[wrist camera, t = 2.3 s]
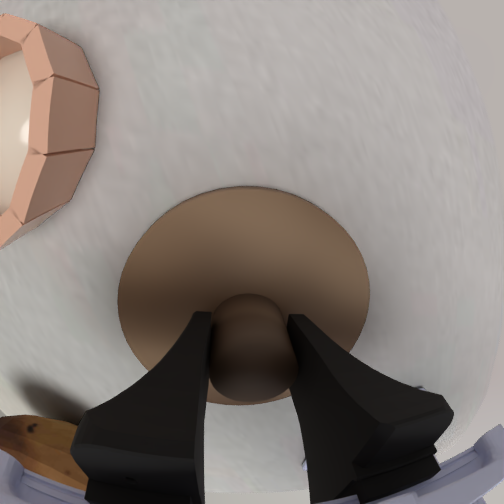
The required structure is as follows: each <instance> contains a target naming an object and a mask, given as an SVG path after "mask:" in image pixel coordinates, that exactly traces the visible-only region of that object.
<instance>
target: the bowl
mask: <svg viewBox="0 0 504 504" xmlns="http://www.w3.org/2000/svg"><path fill="white" fill-rule="evenodd" d="M98 89H99V87H98V85H97V83H96V81H95V78H94V76H93V74H92V71H91V69H90V67H89V64H88V62H87V59H86V57H85V55H84V52H83V50H82V48H81V47H80V46H78V45H76V44H75V43H73V42H71V41H69V40H68V39H66V38H64V37H62V36H60V35H58V34H56V33H55V32H53V31H51V30H49V29H47V28H45V27H43V26H41V25H39V24H37V23H34V22H32V21H29V20H25V19H22V18H19V17H16V16H13V15H9V14H6V13H5V14H2V15H0V250H1V249H3V248H4V247H6V246H7V245H9V244H10V243H12V242H14V241H15V240H17V239H18V238H20V237H21V236H23V235H25V234H26V233H28V232H30V231H31V230H33V229H35V228H36V227H38V226H39V225H40V224H41V223H43V222H44V221H45V220H46V219H48V218H49V217H50V216H51V215H53V214H54V213H55V212H56V211H58V210H59V209H60V208H61V207H63V206H64V205H65V204H67V203H68V202H69V200H71V199H72V196H73V194H74V192H75V189H76V187H77V185H78V183H79V180H80V178H81V176H82V174H83V172H84V170H85V167H86V165H87V163H88V161H89V159H90V157H91V155H92V153H93V151H94V150H93V149H92V148H94V147H95V135H96V120H97V108H98V98H99V91H98Z"/></svg>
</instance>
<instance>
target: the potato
mask: <svg viewBox="0 0 504 504" xmlns="http://www.w3.org/2000/svg"><path fill="white" fill-rule="evenodd" d="M77 427H78V426H77V425H74V424H72V423H69V422H67V421H61V420H55V419H49V418H44V417H39V416H33V415H17V416H5V417H1V418H0V449H1V450H3V451H5V452H6V453H8V454H10V455H11V456H13V457H14V458H15V459H17V460H18V461H19V462H20V463H21V465H22V466H23V467H24V468H25V469H27V470H29V471H32V472H34V473H36V474H39V475H41V476H43V477H46V478H48V479H51V480H53V481H56V482H59V483H61V484H64V485H67V486H70V487H73V488H76V489H79V490H82V491H86V488H87V483H88V479H89V478H88V477H87V475H86V474H85V473H84V472H83V471H82V469H81V468H80V467H79V466H78V465H77V463H76V462H75V461H74V459H73V457H72V456H71V454H70V448H71V444H72V441H73V439H74V436H75V433H76V430H77Z"/></svg>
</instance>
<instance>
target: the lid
mask: <svg viewBox="0 0 504 504" xmlns="http://www.w3.org/2000/svg"><path fill="white" fill-rule="evenodd" d="M369 299H370V288H369V278H368V273H367V268H366V266H365V263H364V260H363V257H362V255H361V253H360V251H359V249H358V247H357V246H356V244H355V242H354V241H353V239H352V238H351V237H350V236H349V234H348V233H347V232H346V230H345V229H344V228H343V227H342V226H341V225H339V224H338V223H337V222H336V221H335V220H334V219H333V218H332V217H330V216H329V215H328V214H326V213H325V212H324V211H322V210H321V209H319V208H318V207H316V206H315V205H313V204H312V203H310V202H308V201H306V200H304V199H302V198H300V197H298V196H296V195H293V194H290V193H287V192H284V191H280V190H277V189H271V188H264V187H258V186H237V187H229V188H221V189H217V190H213V191H209V192H206V193H202V194H199V195H197V196H195V197H192V198H190V199H188V200H186V201H183V202H182V203H180V204H179V205H177V206H175V207H174V208H172V209H170V210H169V211H168V212H166V213H165V214H164V215H163V216H162V217H160V218H159V219H158V220H157V221H156V222H155V223H154V224H153V225H152V226H151V227H150V228H149V229H148V231H147V232H146V233H145V234H144V235H143V236H142V238H141V239H140V240H139V242H138V243H137V244H136V246H135V248H134V249H133V251H132V252H131V254H130V256H129V257H128V259H127V262H126V264H125V267H124V269H123V271H122V275H121V279H120V283H119V288H118V314H119V319H120V323H121V328H122V331H123V333H124V336H125V338H126V341H127V343H128V345H129V346H130V348H131V350H132V351H133V353H134V355H135V356H136V357H137V359H138V360H139V361H140V362H141V364H142V365H143V366H144V367H145V368H146V369H147V370H148V371H150V370H151V369H152V368H153V367H154V366H155V365H156V364H157V363H158V362H159V361H160V360H161V359H162V358H163V357H164V356H165V354H166V353H167V352H168V351H169V350H170V348H171V347H172V346H173V345H174V343H175V342H176V341H177V339H178V338H179V336H180V335H181V334H182V332H183V331H184V329H185V328H186V326H187V324H188V323H189V321H190V319H191V317H192V315H193V313H194V312H195V311H204V312H212V314H211V345H210V366H209V377H210V378H209V386H208V394H207V402H211V403H217V404H224V405H254V404H261V403H267V402H271V401H276V400H279V399H283V398H286V397H288V396H291V393H290V390H289V387H290V386H291V385H292V384H293V383H294V381H295V380H296V378H297V375H298V370H299V366H298V362H297V359H296V356H295V353H294V350H293V346H292V343H291V340H290V337H289V334H288V331H287V328H286V326H287V321H288V316H289V314H304V315H305V316H306V317H308V318H309V319H310V320H311V321H312V322H313V323H314V324H315V325H316V326H317V327H319V328H320V329H321V330H322V331H323V332H324V333H325V334H326V335H327V336H329V337H330V338H331V339H332V340H333V341H334V342H336V343H337V344H338V345H339V346H340V347H342V348H343V349H344V350H346V351H347V352H348V353H349V352H350V350H351V349H352V348H353V346H354V344H355V343H356V341H357V339H358V337H359V336H360V333H361V331H362V329H363V326H364V324H365V320H366V316H367V313H368V307H369Z"/></svg>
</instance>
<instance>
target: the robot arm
mask: <svg viewBox="0 0 504 504" xmlns="http://www.w3.org/2000/svg"><path fill="white" fill-rule="evenodd" d="M211 314H212V312H204V311H195V312H194V313H193V315H192V317H191V319H190V321H189V323H188V324H187V326H186V328H185V329H184V331H183V332H182V334H181V335H180V336H179V338H178V339H177V341H176V342H175V343H174V345H173V346H172V347H171V348H170V350H169V351H168V352H167V353H166V354H165V356H164V357H163V358H162V359H161V360H160V361H159V362H158V363H157V364H156V365H155V366H154V367H153V368H152V369H151V370H150V371H149V372H148V373H147V374H145V375H144V376H143V377H142V378H141V379H140V380H138V381H137V382H136V383H134V384H133V385H132V386H130V387H129V388H127V389H126V390H124V391H123V392H121V393H120V394H118V395H117V396H115V397H114V398H112V399H110V400H109V401H107V402H105V403H103V404H101V405H99V406H97V407H95V408H92V409H90V410H88V411H86V412H85V414H84V416H83V418H82V420H81V421H80V423H79V425H78V427H77V430H76V433H75V436H74V439H73V441H72V444H71V448H70V454H71V456H72V457H73V459H74V461H75V462H76V463H77V465H78V466H79V467H80V468H81V469H82V471H83V472H84V473H85V474H86V475H87V477H88V478H89V479H88V483H87V488H86V491H82V490H79V489H76V488H73V487H70V486H67V485H64V484H61V483H59V482H56V481H53V480H51V479H48V478H46V477H43V476H41V475H39V474H36V473H34V472H32V471H29V470H27V469H25V468H24V467H23V466H22V465H21V463H20V462H19V461H18V460H17V459H15V458H14V457H13V456H11V455H10V454H8V453H6V452H5V451H3V450H1V449H0V504H205V496H204V495H205V493H204V418H205V410H206V402H207V394H208V386H209V378H210V377H209V366H210V345H211ZM286 328H287V331H288V334H289V337H290V340H291V343H292V346H293V350H294V353H295V356H296V359H297V362H298V366H299V370H298V375H297V378H296V380H295V381H294V383H293V384H292V385H291V386H290V387H289V390H290V393H291V396H292V399H293V402H294V406H295V409H296V412H297V415H298V419H299V423H300V428H301V433H302V439H303V444H304V451H305V457H306V460H305V461H304V463H303V465H302V469H303V470H307V473H308V481H309V492H310V504H486V503H485V501H484V499H483V498H482V496H484V495H485V494H486V493H487V492H489V491H490V490H492V489H493V488H494V487H495V486H497V485H498V484H499V483H500V482H502V481H503V480H504V428H503V427H502V425H501V424H499V425H497V426H496V427H494V428H493V429H491V430H489V431H488V432H486V433H485V434H484V435H483V436H482V437H480V438H479V439H478V441H477V442H476V443H475V444H474V446H473V447H471V448H469V449H467V450H465V451H464V452H462V453H460V454H458V455H456V456H454V457H452V458H450V459H449V460H447V461H444V462H442V463H440V464H439V462H438V461H437V459H436V457H435V455H434V454H435V453H436V452H437V449H436V447H435V446H434V443H435V442H436V441H437V440H438V438H439V437H440V436H441V435H442V434H443V433H444V431H445V430H446V429H447V428H448V426H449V425H450V424H451V421H452V419H453V416H454V412H453V410H452V409H451V407H450V406H449V405H448V403H447V402H446V400H445V399H444V397H443V396H442V395H439V394H435V393H431V392H428V391H426V390H425V388H420V389H417V388H414V387H411V386H409V385H406V384H403V383H401V382H399V381H396V380H394V379H392V378H390V377H388V376H386V375H384V374H382V373H380V372H378V371H376V370H374V369H372V368H371V367H369V366H367V365H366V364H364V363H363V362H361V361H359V360H358V359H356V358H355V357H354V356H352V355H351V354H350V353H348V352H347V351H346V350H344V349H343V348H342V347H340V346H339V345H338V344H337V343H336V342H334V341H333V340H332V339H331V338H330V337H329V336H327V335H326V334H325V333H324V332H323V331H322V330H321V329H320V328H319V327H317V326H316V325H315V324H314V323H313V322H312V321H311V320H310V319H309V318H308V317H306V316H305V315H304V314H289V316H288V321H287V326H286Z"/></svg>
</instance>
